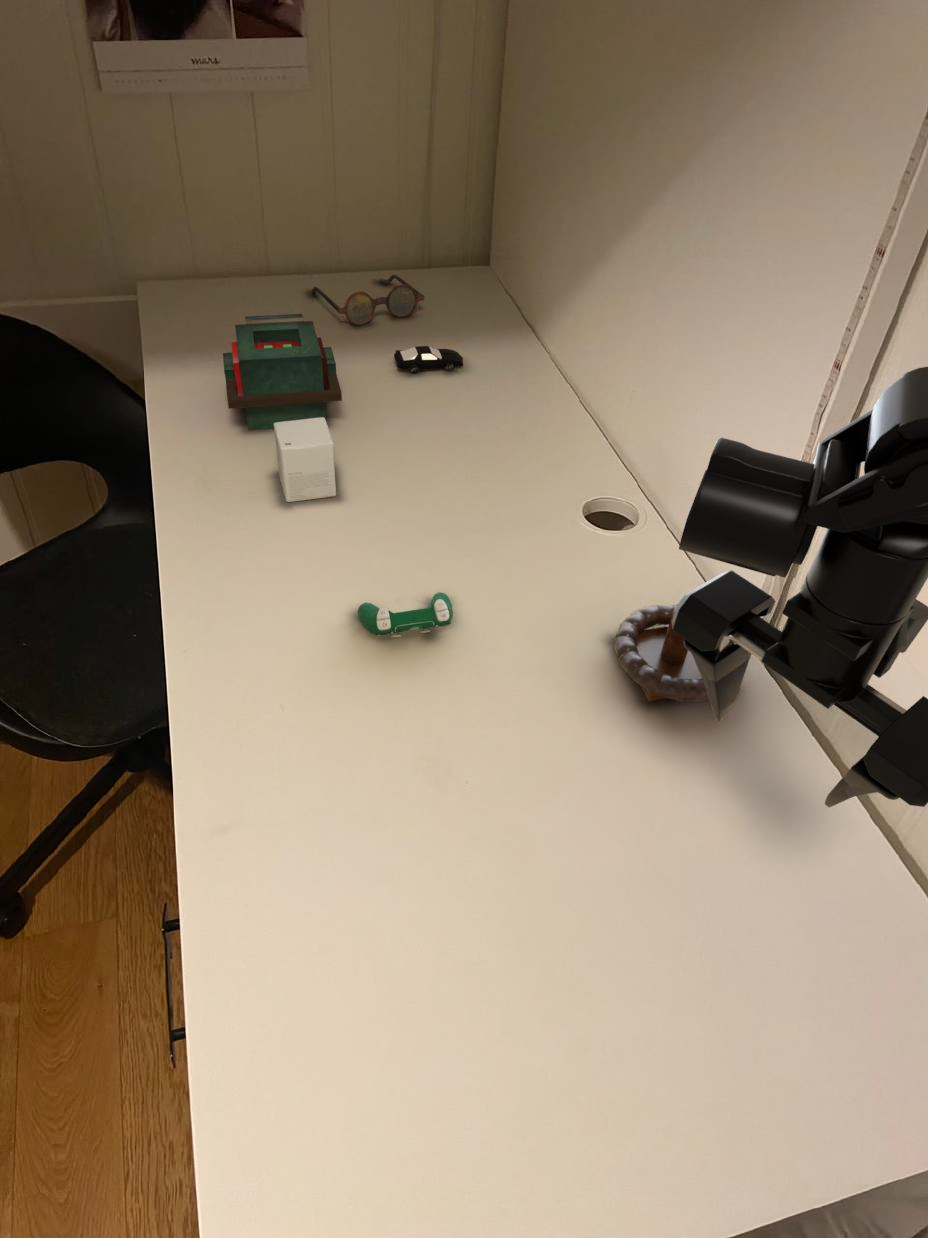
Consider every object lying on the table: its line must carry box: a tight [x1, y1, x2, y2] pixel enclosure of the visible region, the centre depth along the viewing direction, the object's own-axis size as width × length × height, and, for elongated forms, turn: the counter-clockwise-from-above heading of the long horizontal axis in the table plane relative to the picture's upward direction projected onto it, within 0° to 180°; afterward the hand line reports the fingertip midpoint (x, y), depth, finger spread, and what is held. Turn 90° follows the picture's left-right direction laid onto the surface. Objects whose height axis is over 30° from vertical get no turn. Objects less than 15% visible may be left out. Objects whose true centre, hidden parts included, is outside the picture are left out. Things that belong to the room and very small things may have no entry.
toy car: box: [393, 345, 464, 375], centre depth 123 cm, size 10×4×3 cm, turn 104°
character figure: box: [222, 313, 343, 431], centre depth 112 cm, size 14×14×20 cm
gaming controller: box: [357, 591, 454, 639], centre depth 82 cm, size 9×4×6 cm
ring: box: [613, 604, 709, 702], centre depth 80 cm, size 12×12×2 cm
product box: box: [273, 417, 337, 503], centre depth 98 cm, size 6×6×7 cm
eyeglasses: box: [311, 274, 425, 326], centre depth 137 cm, size 15×15×5 cm
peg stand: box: [636, 603, 702, 702], centre depth 79 cm, size 8×8×7 cm
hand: (773, 758), depth 59 cm, fingers open, 9 cm apart
